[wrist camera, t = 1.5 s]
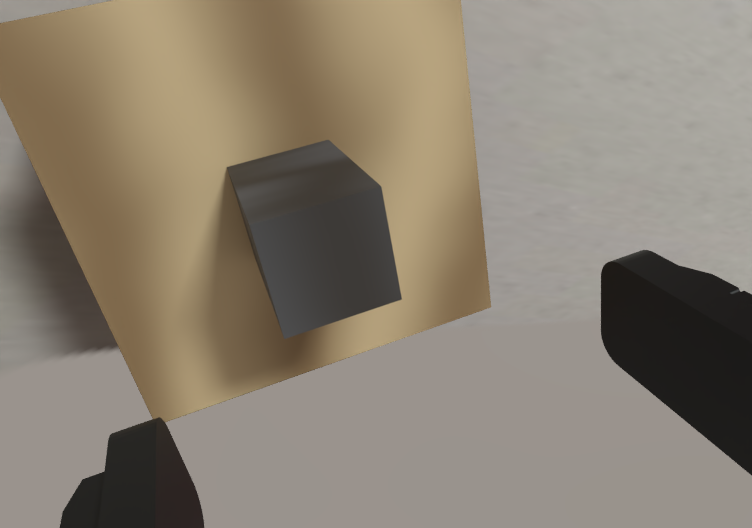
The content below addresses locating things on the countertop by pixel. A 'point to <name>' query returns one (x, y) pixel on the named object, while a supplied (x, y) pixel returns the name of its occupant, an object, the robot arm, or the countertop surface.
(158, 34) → the lid
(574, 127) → the countertop surface
